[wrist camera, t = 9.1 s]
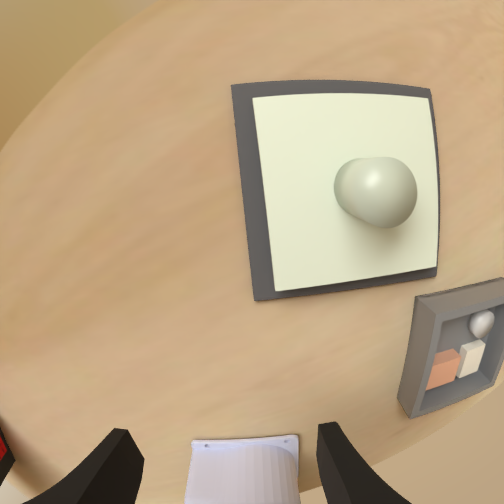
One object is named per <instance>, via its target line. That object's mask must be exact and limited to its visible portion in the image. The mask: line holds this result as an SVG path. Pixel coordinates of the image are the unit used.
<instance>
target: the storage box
mask: <svg viewBox="0 0 504 504" xmlns="http://www.w3.org/2000/svg"><path fill="white" fill-rule="evenodd" d="M503 360H504V278H502V277H500V278H496V279H492V280H488V281H484V282H480V283H476V284H472V285H467V286H463V287H458V288H454V289H449V290H445V291H440V292H435V293H430V294H425V295H420V296H415V302H414V311H413V318H412V325H411V331H410V338H409V344H408V349H407V355H406V360H405V365H404V369H403V374H402V379H401V383H400V387H399V391H398V396H397V398H398V400H399V402H400V404H401V405H402V407H403V409H404V411H405V412H406V414H407V416H408V418H409V419H413V418H416V417H419V416H422V415H425V414H428V413H430V412H433V411H436V410H439V409H441V408H444V407H446V406H449V405H451V404H454V403H456V402H459V401H461V400H463V399H466V398H468V397H470V396H473V395H475V394H477V393H479V392H481V391H483V390H485V389H487V388H490V387H492V386H493V385H494V383H495V381H496V378H497V376H498V373H499V370H500V368H501V365H502V362H503Z"/></svg>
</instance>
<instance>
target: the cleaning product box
mask: <svg viewBox="0 0 504 504" xmlns="http://www.w3.org/2000/svg"><path fill="white" fill-rule="evenodd" d="M15 461H16V460H15V458H14V456H13V454H12V452H11V450H10V448H9V446H8V444H7V442H6V440H5V437H4V435H3V433H2V430H1V428H0V486H1V484H2V482H3V481H4V479H5V477H6V475H7V474H8V472H9V470H10V469H11V467H12V465H13V464H14V462H15Z"/></svg>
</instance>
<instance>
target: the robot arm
mask: <svg viewBox="0 0 504 504" xmlns="http://www.w3.org/2000/svg"><path fill="white" fill-rule="evenodd" d="M191 446H192V449H193V451H192V457H191V462H190V468H189V475H188V481H187V487H186V493H185V503H184V504H301V502H300V496H299V488H298V481H297V478H298V472H299V439H298V436H297V435H294V434H293V435H284V436H275V437H264V438H250V439H230V440H193V441H192V442H191ZM316 456H317V462H318V468H319V474H320V479H321V482H322V486H323V489H324V492H325V496H326V499H327V502H328V504H411V503H410V502H409V501H407V500H406V499H405V498H403V497H402V496H401V495H399V494H398V493H397V492H396V491H395V490H393V489H392V488H391V487H390V486H389V485H388V484H387V483H385V481H383V480H382V479H381V478H380V477H379V476H378V475H377V474H376V473H375V472H374V471H373V470H372V468H371V467H370V466H369V465H368V464H367V463H366V462H365V460H364V459H363V458H362V457H361V456H360V454H359V453H358V452H357V451H356V449H355V448H354V447H353V445H352V444H351V443H350V441H349V440H348V439H347V437H346V436H345V434H344V433H343V431H342V429H341V428H340V426H339V425H338V423H337V422H329V423H324V424H318V439H317V452H316ZM143 466H144V457H143V456H142V454H141V452H140V451H139V449H138V447H137V445H136V444H135V442H134V440H133V438H132V437H131V435H130V433H129V431H128V430H126V429H118V428H114V429H113V430H112V431H111V432H110V433H109V434H108V435H107V436H106V437H105V439H104V440H103V441H102V442H101V443H100V444H99V445H98V446H97V447H96V448H95V449H94V450H93V451H92V452H91V453H90V454H89V455H88V456H87V457H86V458H85V459H84V460H83V461H82V462H81V463H80V464H79V465H78V466H77V467H76V468H75V469H74V470H73V471H71V472H70V473H69V474H68V475H67V476H66V477H65V478H63V479H62V480H61V481H60V482H58V483H57V484H55V485H54V486H53V487H51V488H50V489H48V490H47V491H45V492H43V493H42V494H40V495H38V496H36V497H34V498H33V499H31V500H29V501H27V502H24V503H23V504H135V500H136V497H137V494H138V490H139V487H140V483H141V480H142V473H143Z"/></svg>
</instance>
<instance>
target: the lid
mask: <svg viewBox="0 0 504 504" xmlns="http://www.w3.org/2000/svg"><path fill="white" fill-rule="evenodd" d="M252 101H253V109H254V116H255V124H256V132H257V139H258V147H259V155H260V163H261V172H262V180H263V188H264V196H265V205H266V214H267V222H268V231H269V240H270V249H271V258H272V268H273V277H274V286H275V291H283V290H290V289H298V288H305V287H313V286H320V285H327V284H334V283H341V282H347V281H354V280H360V279H367V278H373V277H379V276H385V275H391V274H397V273H403V272H409V271H414V270H420V269H425V268H431V267H436V263H437V245H438V186H437V168H436V155H435V145H434V136H433V128H432V120H431V113H430V107H429V101H428V98H420V97H410V96H399V95H384V94H360V93H320V94H295V95H280V96H267V97H257V98H253V99H252Z"/></svg>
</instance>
